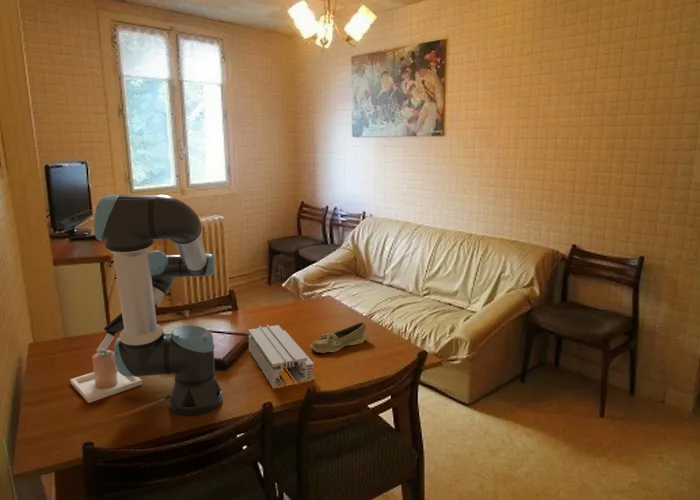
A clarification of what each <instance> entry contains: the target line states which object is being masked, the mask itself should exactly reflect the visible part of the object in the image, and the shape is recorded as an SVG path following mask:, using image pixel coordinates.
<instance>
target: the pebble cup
mask: <svg viewBox="0 0 700 500" xmlns="http://www.w3.org/2000/svg"><path fill="white" fill-rule="evenodd" d="M114 355H115V353H114V350H110V349H107V350H105V349H100V350H99V352H95V354H93V355H92V356H91V357H92V367H93V372H94V377H95V386H96V388H98V389H107V388H111V387H113V386H115V385H116V384H117V383H118V380H117V370H116V364H115V359H114Z"/></svg>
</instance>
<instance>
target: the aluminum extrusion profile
mask: <svg viewBox="0 0 700 500" xmlns="http://www.w3.org/2000/svg"><path fill="white" fill-rule="evenodd" d="M247 332H248V333H249V335H248V352H249V351H250V352H251V353H250V352H249V353H250V355H251V354H252V355H251V357H252V356H253V357H254V358H253V357H252V358H253V360H254V359H255V360H256V361H255V360H254V361H255V363H256V362H257V363H258V364H257V363H256V364H257V366H258V365H259V366H260V368H261V369H262V371H263V372H264V374H265V376H266V377H267V379H268V380H269V382H270V383H269V382H268V383H269V384H271V385H270V386H272V387H271V388H272V389H273V388H275V386H276V385H277V384H278V386H279V387H282V386H283V385H282V383H281V382H280V380H279V379H278V377H280V379H281V380H282V382H283V383H284V385H285V386H286V384H287V383H286V382H285V381H284V379H283V378H282V376H281V375H280V373H279V372H282V371H283V369H284V370H285V372H286V373H287V374H288V376H289V377H290V379H291V380H292V381H293V383H295V382H294V380H293V379H292V377H291V376H290V375H289V373H288V372H287V371H286V369H285V368H284V367H283V364H284V366H285V367H286V368H287V369H288V371H289V372H290V373H291V375H292V376H293V377H294V379H295V380H296V381H297V383H299V382H303V381H307V380H309V379H313V380H314V379H315V377H314V375H313V374H312V372H311V371H313V370H314V369H313V368H314V367H315V363H314V362H313V361H312V359H311V358H310V357H309V356H308V355H307V354H306V353H305V351H304V350H303V349H302V348H301V347H300V346H299V345H298V343H297V342H296V341H295V340H294V339H293V337H291V335H290V334H289V333H288V332H287V331H286V330H285V329H284V330H283V328H282V327H281V326H280V325H279V324H278V325H277V324H276V325H269V324H266V326H263V327H262V326H261V325H259V326H258V327H257V328H250V329H248V331H247ZM259 366H258V367H259ZM260 368H259V369H260ZM261 369H260V370H261ZM262 371H261V372H262ZM263 372H262V373H263ZM264 374H263V375H264ZM265 376H264V377H265ZM266 377H265V378H266ZM267 379H266V380H267ZM268 380H267V381H268ZM282 388H283V387H282Z"/></svg>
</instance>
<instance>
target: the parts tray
mask: <svg viewBox="0 0 700 500" xmlns="http://www.w3.org/2000/svg"><path fill="white" fill-rule="evenodd" d="M116 370H117V380H118V383H117V384H116V385H115V386H113V387H111V388H107V389H98V388H96V386H95V377H94V371H93V372H90V373H86V374H83V375H80V376H77V377H73V378H70V385H72V387H74V389H75V390H76V391H77V392H78V393H79V394H80V395H81V396H82V397H83V399H84V400H85V401H86V402H87V403H88V404H89V403H90V404H91V403H93V402H95V401H100V400H101V399H104V398H107V397H109V396H113V395H115V394H119V393H121V392H124V391H127V390H130V389H134V388H135V387H138V386H141V385H143V379H142V378H140V377H134V376H132V377H126V376H123V375H122V374H120V372H119V371H118V369H117V367H116Z"/></svg>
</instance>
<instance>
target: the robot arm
mask: <svg viewBox="0 0 700 500" xmlns="http://www.w3.org/2000/svg"><path fill="white" fill-rule="evenodd" d="M202 226H203V225H202V222H201V220H200V217H199V215H198V214H197V212H196V211H195V210H194V209H193V208H192V207H190V206H189V205H188V204H187V203H185V202H184V201H182V200H180V199H178V198H176V197H174V196H170V195H167V194H121V193H118V194H113V195H112V194H108V195H104V196H102V197H101V198H100V199H99V201H98V202H97V204H96V208H95V212H94V217H93V231H94V233H93V234H94V236H95V239H96V240H98V241H100V242H103V241H104V245H105V246H104V247H105V249H106V250H107V251H108V252H110V253H111V254H113V263H114V269H115V275H116V281H117V289H118V290H117V291H118V296H119V302H120V309H121V313H119V315H117V316H116V317H115V318H114V319H112V320H111V321H110V323H108V324H107V325H106V326H105V327H104V328H103V330H104V331H105V334H104V337H103V338H102V340H101V342H100V344H99V346H98V347H97V349H96V350H95V351H96V353H98V352H99V350H100V349H105V350H106V351H108V349H109V346H110V345H111V343H112V342H113V340H114V339H115V335H116V334H118V333H119V332H120V333H119V336H118V337H117V338H116V340H115V342H114V346H113V352H114V353H115V355H114V359H115V364H116V367H117V369H118V371H119V372H120V374H122V375H123V376H126V377H132V376H134V377H139V378H140V377H148V376H160V375H174V382H173V387H172V390H171V393H170V397H169V404H170V405H169V407H170V409H171V411H173V412H174V413H175V414H179V415H182V416H197V415H202V414H205V413H209V412H211V411H213V410H215V409H216V408H217V407H218V406H220V405H221V403H222V401H223V392H222V389H221V387H220V384H219V382H218V379H217V377H216V368H215V352H214V351H215V344H214V337H213V334H212V332H211V331H210V330H208V329H206V328H205V327H202V326H198V325H182V326H178V327H175V328H174V329H172V331H171V333H168V334H163V331H164V328H163V327H162V326H161V325H160V324H158V323H157V314H156V310H157V309H158V305H160V304H161V302H162V300H164V297H165V296H166V294H167V292H168V291H169V289H170V288H171V285H173V283H174V281H175V280H176V279H177V278H181V277H182V278H184V277H185V278H188V277H193V278H194V277H206V276H207V277H208V276H211V277H212V276H214V274H215V272H216V259H215V255H214V254H213V253H206V250H205V246H204V241H203V240H202V236H201V233H202V231H203V230H202V229H203V227H202ZM162 239H163V240H170V241H171V242H173V243H174V244H175V247H176V249H177V251H178V253H179V254H166V253H165V252H162V251H160V250H153V251H150V252H149V249H151V247H153V245H154V240H162Z"/></svg>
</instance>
